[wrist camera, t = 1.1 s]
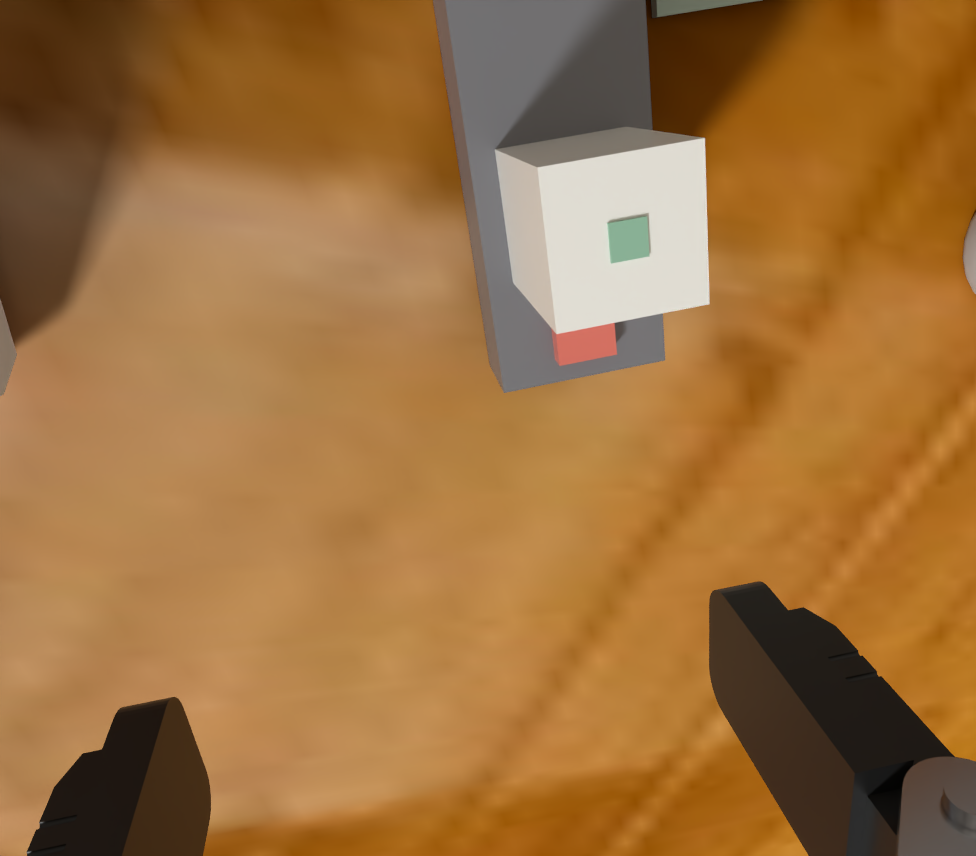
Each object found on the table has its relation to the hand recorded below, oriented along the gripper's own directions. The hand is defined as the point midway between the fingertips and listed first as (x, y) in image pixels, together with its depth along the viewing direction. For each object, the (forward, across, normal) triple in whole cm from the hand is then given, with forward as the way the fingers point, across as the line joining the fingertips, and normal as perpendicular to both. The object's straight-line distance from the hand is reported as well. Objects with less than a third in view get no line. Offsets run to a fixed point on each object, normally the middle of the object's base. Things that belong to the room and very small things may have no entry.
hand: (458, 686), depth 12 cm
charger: (+22, -7, -3) cm, 24 cm away
